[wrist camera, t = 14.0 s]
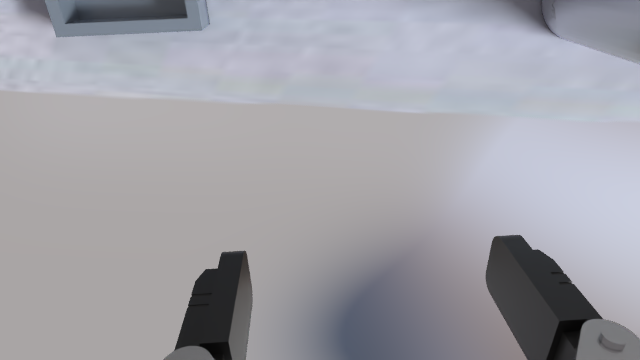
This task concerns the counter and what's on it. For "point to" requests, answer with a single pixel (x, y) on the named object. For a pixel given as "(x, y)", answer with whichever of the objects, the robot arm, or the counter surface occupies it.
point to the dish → (126, 16)
